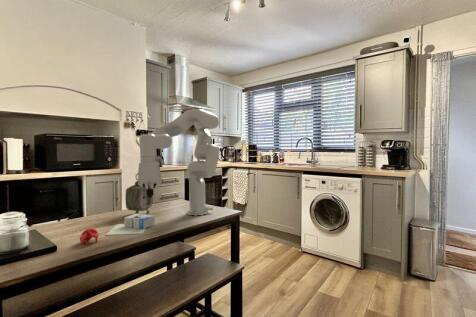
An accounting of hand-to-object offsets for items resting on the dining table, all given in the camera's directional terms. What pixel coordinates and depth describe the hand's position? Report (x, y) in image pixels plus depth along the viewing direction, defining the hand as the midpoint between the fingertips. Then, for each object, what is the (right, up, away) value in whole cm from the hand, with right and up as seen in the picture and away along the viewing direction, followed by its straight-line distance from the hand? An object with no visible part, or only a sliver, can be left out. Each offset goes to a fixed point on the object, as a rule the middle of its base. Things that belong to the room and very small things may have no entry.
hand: (150, 196), depth 126 cm
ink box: (-1, -13, +1) cm, 13 cm away
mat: (-10, -16, -1) cm, 18 cm away
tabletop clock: (-15, -15, +25) cm, 33 cm away
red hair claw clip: (-19, -17, -19) cm, 31 cm away
